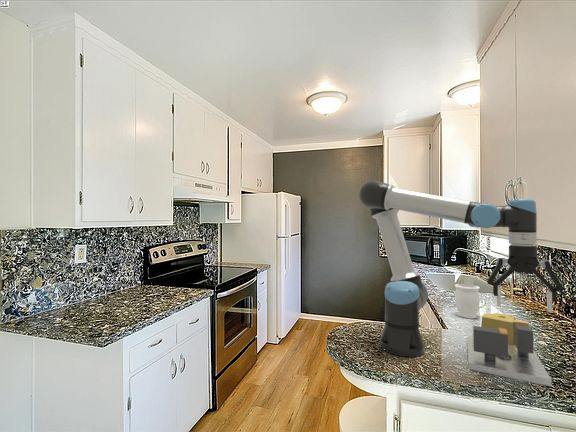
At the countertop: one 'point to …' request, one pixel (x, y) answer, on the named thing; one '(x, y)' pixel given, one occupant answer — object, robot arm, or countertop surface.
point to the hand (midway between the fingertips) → (523, 308)
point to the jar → (467, 300)
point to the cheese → (499, 323)
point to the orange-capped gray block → (523, 338)
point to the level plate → (510, 365)
